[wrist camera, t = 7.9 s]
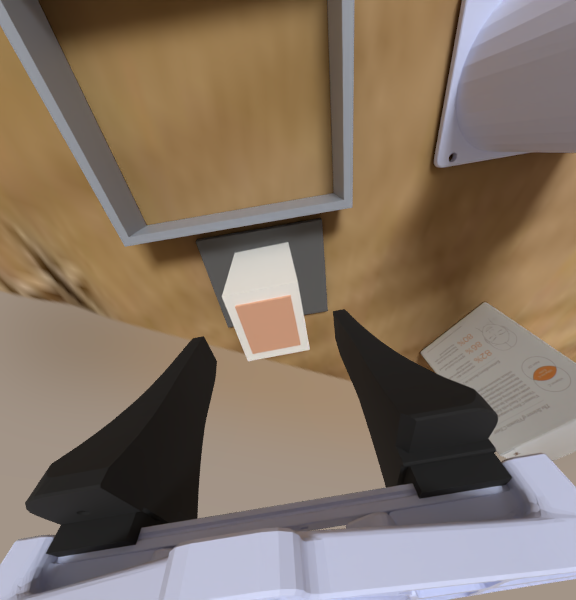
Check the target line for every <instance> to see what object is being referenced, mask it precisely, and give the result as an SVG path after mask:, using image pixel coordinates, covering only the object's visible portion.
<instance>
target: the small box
mask: <svg viewBox="0 0 576 600" xmlns="http://www.w3.org/2000/svg"><path fill="white" fill-rule="evenodd" d="M421 355H422V356H423V357H424V359H425V360H426V361H427V363H428V364H429V365H430V366H431V368H432V369H433V370H434V371H435V373H436V374H439V375H441V376H443V377H445V378H448V379H450V380H453V381H455V382H458V383H460V384H463V385H465V386H468V387H470V388H473V389H475V390H476V391H477V392H478V393H479V394H480V395H481V396H482V397H483V398H484V399H485V401H486V402H487V403H488V404H489V405H490V406H491V407H492V409H493V410H494V411H495V412H496V413H497V415H498V422H497V425H496V427H495V429H494V430H493V432H492V434H491V435H490V437H489V438H488V439H489V440H490V441H491V443H492V444H493V445H494V447H495V448H496V452H497V453H498V454H499V455H501V456H503V457H505V458H507V459H508V458H512V457H518V456H524V455H530V454H536V453H544V454H546V455H547V456H548V457H549V458H550V459H551V461H554V460H556V459H559V458H561V457H564V456H566V455H568V454H571V453H573V452H575V451H576V363H575V362H573V361H572V360H570V359H569V358H567V357H566V356H564V355H563V354H562V353H560V352H559V351H557V350H556V349H554V348H553V347H551V346H550V345H548V344H547V343H545V342H544V341H543V340H541V339H540V338H538V337H537V336H535V335H534V334H532V333H531V332H529V331H528V330H526V329H525V328H523V327H522V326H520V325H519V324H517V323H516V322H514V321H513V320H512V319H510V318H509V317H507V316H506V315H504V314H503V313H501V312H500V311H498V310H497V309H495V308H494V307H493V306H491V305H490V304H488V303H486V302H484V303H482V304H481V305H480V306H478V307H477V308H476V309H475V310H473V311H472V312H471V313H469V314H468V315H467V316H466V317H464V318H463V319H462V320H460V321H459V322H458V323H457V324H455V325H454V326H453V327H452V328H450V329H449V330H448V331H446V332H445V333H444V334H443V335H441V336H440V337H439V338H437V339H436V340H435V341H434V342H432V343H431V344H430V345H429V346H427V347H426V348H425V349H424V350H422V351H421Z"/></svg>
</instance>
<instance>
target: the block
mask: <svg viewBox="0 0 576 600" xmlns="http://www.w3.org/2000/svg"><path fill="white" fill-rule="evenodd" d="M222 299H223V301H224V303H225V306H226V308H227V311H228V313H229V316H230V318H231V321H232V323H233V326H234V328H235V330H236V333H237V335H238V338H239V340H240V343H241V345H242V348H243V350H244V353H245V355H246V357H247V360H248V361H252V360H258V359H263V358H268V357H274V356H279V355H284V354H289V353H295V352H300V351H305V350H310V347H309V342H308V336H307V331H306V325H305V319H304V314H303V308H302V303H301V297H300V291H299V286H298V281H297V277H296V272H295V268H294V264H293V260H292V256H291V252H290V248H289V243H288V242H286V243H281V244H276V245H271V246H266V247H261V248H256V249H251V250H246V251H241V252H236V253H234V257H233V260H232V264H231V267H230V270H229V274H228V277H227V281H226V284H225V287H224V291H223V294H222Z"/></svg>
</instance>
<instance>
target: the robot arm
mask: <svg viewBox="0 0 576 600" xmlns="http://www.w3.org/2000/svg"><path fill="white" fill-rule="evenodd" d="M531 152H546V153H576V0H462V3H461V9H460V15H459V20H458V26H457V32H456V37H455V43H454V49H453V54H452V60H451V66H450V71H449V77H448V83H447V88H446V94H445V100H444V105H443V111H442V116H441V122H440V128H439V133H438V139H437V145H436V150H435V156H434V165H435V166H436V167H440V168H444V167H450V166H455V165H461V164H467V163H473V162H479V161H484V160H490V159H496V158H502V157H507V156H513V155H519V154H525V153H531ZM451 154H453V157H452V159H451V160H450V161H449V156H450V155H451ZM333 317H334V328H335V339H336V342H337V346H338V349H339V352H340V355H341V358H342V360H343V362H344V365H345V367H346V369H347V372H348V374H349V376H350V379H351V381H352V383H353V385H354V387H355V390H356V392H357V395H358V398H359V400H360V403H361V407H362V409H363V413H364V415H365V419H366V422H367V425H368V428H369V431H370V435H371V438H372V441H373V445H374V448H375V451H376V455H377V458H378V461H379V464H380V468H381V472H382V475H383V478H384V482H385V485H386V488H381V489H375V490H368V491H362V492H356V493H350V494H344V495H338V496H332V497H326V498H321V499H314V500H308V501H302V502H296V503H289V504H284V505H277V506H271V507H265V508H259V509H253V510H247V511H241V512H235V513H229V514H223V515H217V516H210V517H205V518H198V519H197V512H198V488H199V476H200V463H201V453H202V443H203V436H204V428H205V422H206V417H207V413H208V408H209V404H210V400H211V395H212V391H213V387H214V382H215V376H216V366H217V365H216V364H217V361H216V359H215V357H214V355H213V353H212V351H211V349H210V347H209V345H208V343H207V342H206V340H205V338H204V336H203V337H198V338H193V339H192V340H191V341H190V342H189V343H188V345H187V346H186V347H185V348H184V349H183V351H182V352H181V353H180V354H179V355H178V357H177V358H176V359H175V360H174V361H173V363H172V364H171V365H170V366H169V367H168V368H167V369H166V370H165V372H164V373H163V374H162V375H161V376H160V377H159V378H158V379H157V380H156V381H155V382H154V384H153V385H152V386H151V387H150V388H149V389H148V390H147V391H146V392H145V393H144V394H142V395H141V396H140V397H139V398H138V399H137V400H136V401H135V402H134V403H133V404H132V405H130V406H129V407H128V408H127V409H126V410H125V411H123V412H122V413H121V414H120V415H119V416H118V417H116V418H115V419H114V420H113V421H112V422H110V423H109V424H108V425H106V426H105V427H104V428H103V429H101V430H100V431H98V432H97V433H96V434H94V435H93V436H92V437H90V438H89V439H88V440H86V441H85V442H83V443H82V444H81V445H79V446H78V447H77V448H75V449H73V450H72V451H70V452H69V453H67V454H66V455H64V456H63V457H61V458H60V459H58V460H57V461H55V462H54V463H52V464H51V465H50V467H49V468H48V470H47V471H46V473H45V474H44V476H43V477H42V479H41V480H40V482H39V483H38V485H37V486H36V488H35V489H34V491H33V492H32V494H31V495H30V497H29V498H28V500H27V501H26V502H25V504H26V509H27V510H28V511H29V512H30V513H32V514H34V515H37V516H40V517H42V518H44V519H47V520H50V521H52V522H55V523H57V524H60V525H61V526H60V528H59V530H58V532H57V534H56V535H41V536H35V537H29V538H23V539H19V540H17V541H15V543H14V544H13V546H12V548H11V549H10V551H9V552H8V554H7V555H6V557H5V558H4V560H3V562H2V563H1V565H0V600H449V599H455V598H461V597H467V596H473V595H479V594H485V593H491V592H497V591H503V590H508V589H514V588H521V587H527V586H533V585H540V584H546V583H552V582H558V581H565V580H572V579H576V487H575V486H574V485H573V484H572V483H571V481H570V480H569V479H568V478H567V477H566V476H565V475H564V474H563V473H562V472H561V470H560V469H559V468H558V467H557V466H556V465H555V464H554V463H553V462H552V461H551V459H550V458H549V457H548V456H547V455H546V454H544V453H536V454H530V455H524V456H518V457H512V458H508V459H506V460H504V461H502V462H500V460H499V459H498V458H497V456H496V455H495V454H494V452H496V448H495V447H494V445H493V444H492V443H491V441H490V440H489V439H488V438H489V437H490V435H491V434H492V432H493V430H494V429H495V427H496V425H497V422H498V415H497V413H496V412H495V411H494V410H493V409H492V407H491V406H490V405H489V404H488V403H487V402H486V401H485V399H484V398H483V397H482V396H481V395H480V394H479V393H478V392H477V391H476V390H475V389H473V388H470V387H468V386H465V385H463V384H460V383H458V382H455V381H453V380H450V379H448V378H445V377H443V376H441V375H439V374H436V373H434V372H432V371H430V370H428V369H426V368H424V367H422V366H420V365H418V364H416V363H414V362H412V361H411V360H409V359H407V358H405V357H404V356H402V355H400V354H399V353H397V352H396V351H394V350H392V349H391V348H390V347H388V346H387V345H385V344H384V343H383V342H381V341H380V340H379V339H377V338H376V337H375V336H373V335H372V334H371V333H370V332H369V331H367V330H366V329H365V328H364V327H363V326H362V325H360V324H359V323H358V322H357V321H356V320H355V319H354V318H353V317H352V316H351V315H350V314H349V313H348V312H347V311H346V310H345V309H343V310H338V311H333ZM342 525H346V529H331V530H317V529H323V528H330V527H335V526H342ZM311 530H313V531H311Z"/></svg>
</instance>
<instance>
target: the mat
mask: <svg viewBox="0 0 576 600" xmlns="http://www.w3.org/2000/svg"><path fill="white" fill-rule="evenodd" d="M286 242H288V243H289V248H290V252H291V256H292V260H293V264H294V268H295V272H296V277H297V281H298V286H299V291H300V297H301V303H302V308H303V314H304V315H306V314H312V313H318V312H324V311H328V308H327V292H326V276H325V260H324V244H323V228H322V219H321V218H318V219H312V220H307V221H301V222H295V223H289V224H283V225H277V226H272V227H266V228H260V229H254V230H248V231H243V232H237V233H231V234H225V235H219V236H213V237H208V238H202V239H197V240H196V244H197V247H198V249H199V252H200V254H201V257H202V260H203V262H204V265H205V268H206V270H207V273H208V275H209V278H210V281H211V283H212V286H213V289H214V291H215V294H216V296H217V299H218V302H219V304H220V307H221V310H222V312H223V315H224V318H225V320H226V323H227V325H228V327H234V326H233V323H232V321H231V318H230V316H229V313H228V311H227V308H226V306H225V303H224V301H223V299H222V294H223V291H224V287H225V284H226V281H227V277H228V274H229V270H230V267H231V264H232V260H233V257H234V253H236V252H241V251H246V250H251V249H256V248H261V247H266V246H271V245H276V244H281V243H286Z"/></svg>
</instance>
